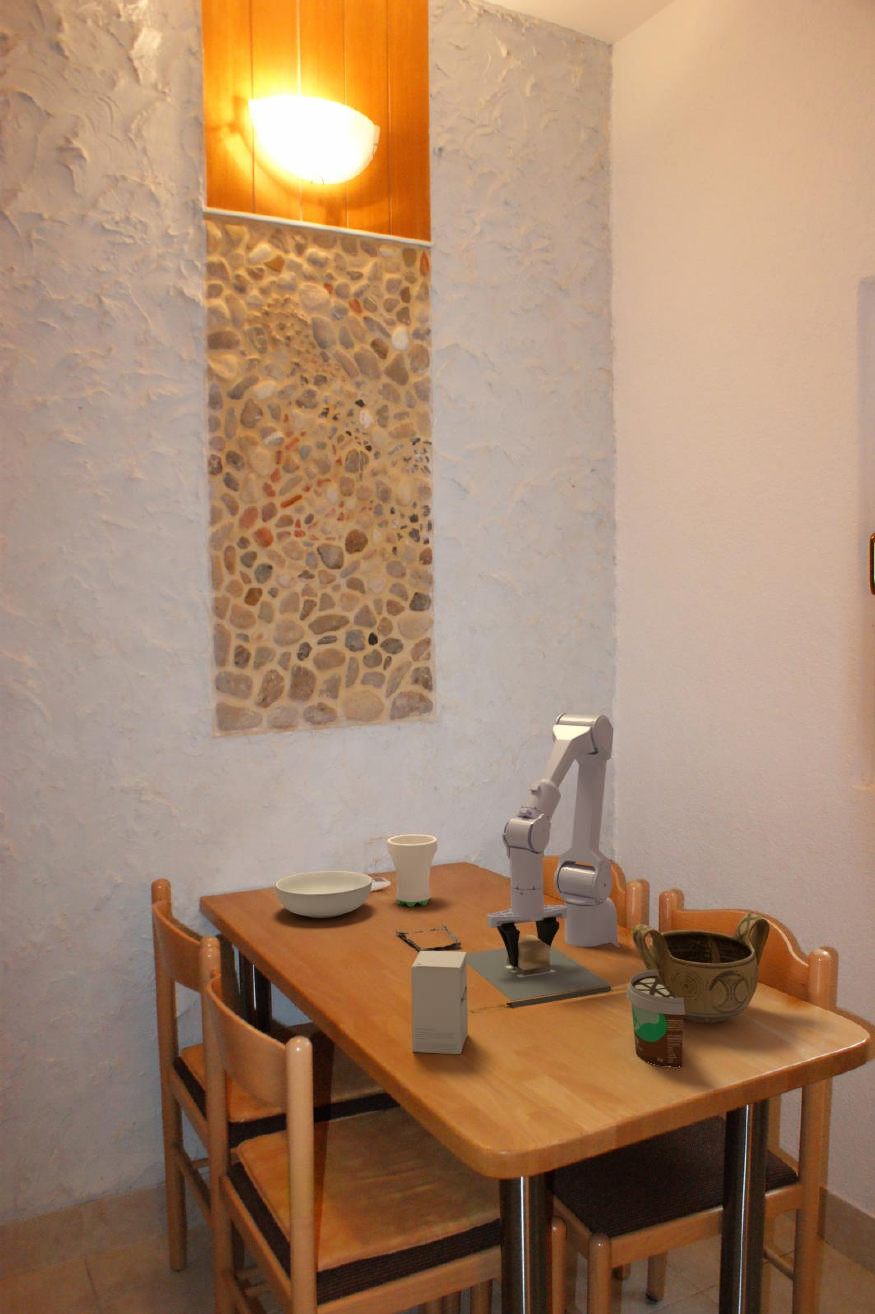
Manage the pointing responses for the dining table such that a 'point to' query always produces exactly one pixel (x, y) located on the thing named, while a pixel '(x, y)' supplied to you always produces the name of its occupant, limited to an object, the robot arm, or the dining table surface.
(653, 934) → the ceramic bowl
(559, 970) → the slate board
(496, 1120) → the dining table surface
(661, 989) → the food container
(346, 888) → the cream oval piece
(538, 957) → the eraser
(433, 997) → the supplement box
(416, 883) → the cup
